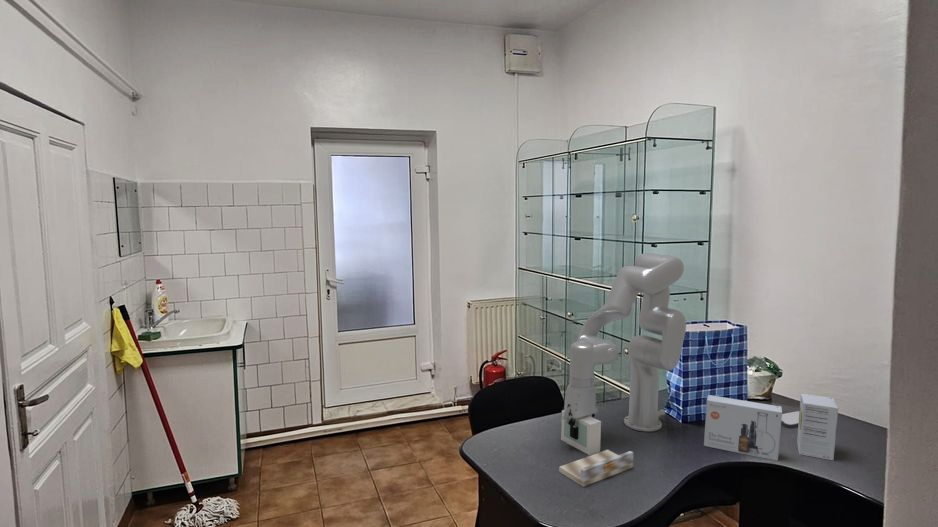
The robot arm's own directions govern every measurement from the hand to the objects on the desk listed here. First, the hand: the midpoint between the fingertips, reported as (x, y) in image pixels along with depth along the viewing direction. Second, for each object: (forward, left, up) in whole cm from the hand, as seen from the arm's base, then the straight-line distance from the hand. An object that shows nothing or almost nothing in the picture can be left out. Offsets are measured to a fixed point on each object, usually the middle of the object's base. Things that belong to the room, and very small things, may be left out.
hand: (580, 435), depth 178 cm
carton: (0, 0, -3) cm, 3 cm away
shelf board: (+7, +14, -3) cm, 16 cm away
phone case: (-78, +27, -4) cm, 83 cm away
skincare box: (-40, +30, -4) cm, 50 cm away
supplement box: (-59, +43, -4) cm, 73 cm away
